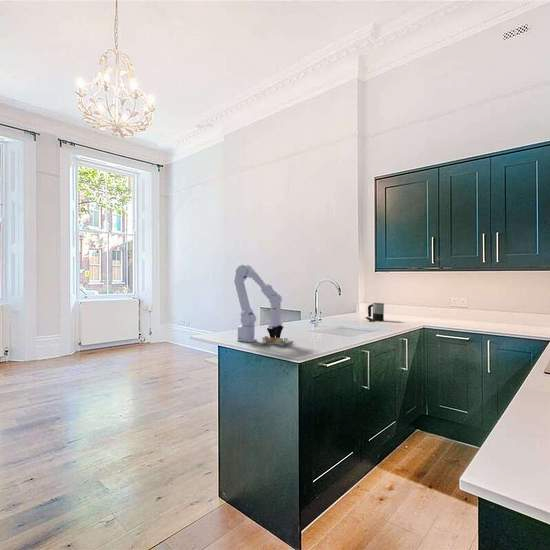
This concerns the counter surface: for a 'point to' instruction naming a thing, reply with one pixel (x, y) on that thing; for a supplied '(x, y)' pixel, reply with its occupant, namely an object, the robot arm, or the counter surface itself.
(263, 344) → the gate posts
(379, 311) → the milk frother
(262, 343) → the mat
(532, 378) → the counter surface
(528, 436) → the counter surface
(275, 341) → the gate
